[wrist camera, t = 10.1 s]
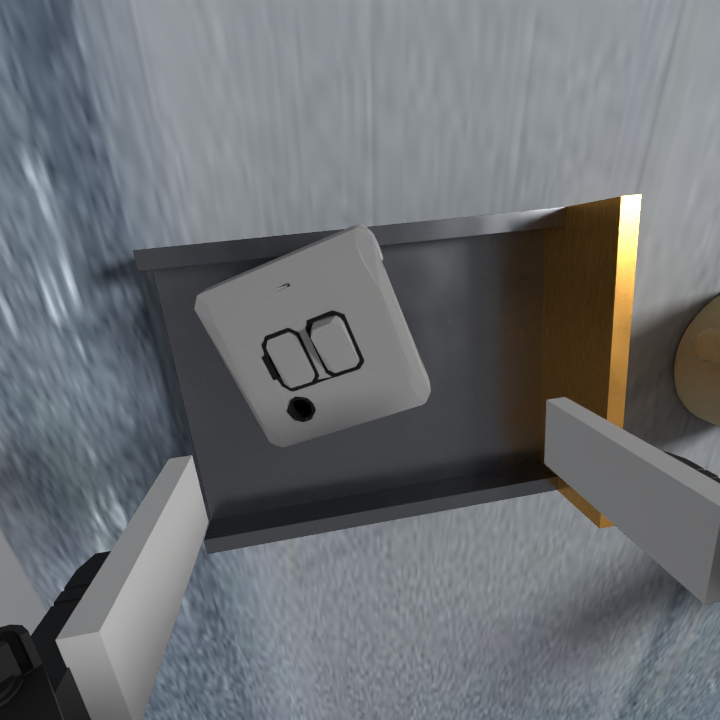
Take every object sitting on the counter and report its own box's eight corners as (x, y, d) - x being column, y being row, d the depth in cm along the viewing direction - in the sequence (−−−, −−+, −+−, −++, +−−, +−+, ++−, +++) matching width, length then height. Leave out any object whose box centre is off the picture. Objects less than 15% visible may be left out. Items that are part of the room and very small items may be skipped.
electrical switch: (275, 454, 22) (172, 315, 18) (290, 397, 26) (210, 273, 22) (437, 406, 20) (370, 234, 15) (424, 352, 24) (369, 205, 20)
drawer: (157, 251, 23) (92, 248, 16) (545, 212, 26) (641, 194, 18) (218, 518, 28) (189, 609, 20) (541, 461, 30) (615, 525, 23)
